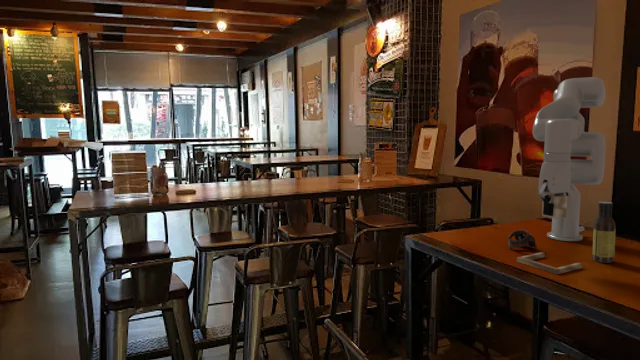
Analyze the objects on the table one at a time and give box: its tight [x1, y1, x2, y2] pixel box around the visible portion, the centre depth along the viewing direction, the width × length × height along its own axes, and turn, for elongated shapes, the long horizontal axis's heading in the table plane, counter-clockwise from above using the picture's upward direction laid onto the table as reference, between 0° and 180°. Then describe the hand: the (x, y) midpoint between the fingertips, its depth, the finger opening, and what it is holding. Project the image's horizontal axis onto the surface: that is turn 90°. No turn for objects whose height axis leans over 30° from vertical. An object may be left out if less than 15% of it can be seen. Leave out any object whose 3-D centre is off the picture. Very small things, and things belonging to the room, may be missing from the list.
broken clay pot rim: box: [507, 229, 538, 251], centre depth 164 cm, size 12×10×8 cm
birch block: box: [541, 194, 567, 219], centre depth 143 cm, size 5×5×7 cm
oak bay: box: [516, 251, 583, 275], centre depth 144 cm, size 12×14×2 cm
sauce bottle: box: [591, 201, 617, 264], centre depth 147 cm, size 6×6×20 cm
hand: (553, 213), depth 143 cm, fingers closed on birch block, 5 cm apart
